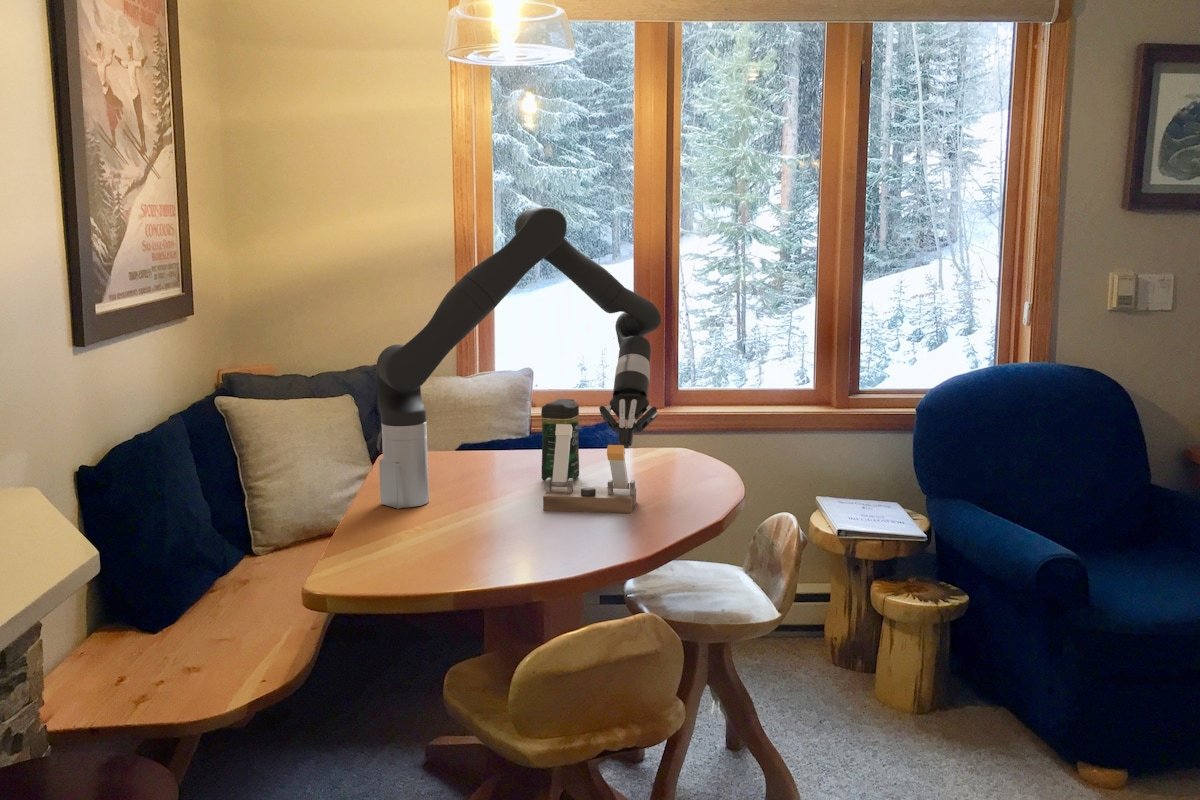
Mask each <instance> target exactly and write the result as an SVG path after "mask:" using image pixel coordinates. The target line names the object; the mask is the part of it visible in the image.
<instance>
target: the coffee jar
mask: <svg viewBox="0 0 1200 800" xmlns="http://www.w3.org/2000/svg"><path fill="white" fill-rule="evenodd" d="M579 408H580V407H579V404H578V402H576V401H575V399H572V398H571V399H570V398H557V399H555V400H553V401H551V402H549V403H546V404H544V405H543V406H541V413H540V415H541V416H540V419H541V420H540V421H541V432H542V433H541V480H542V481H543V482H545V480H546V479H547V478H551V482H552V478H553V467H554V456H555V444H556V435H555V432H556V424H571V425H572V427H573V429H572V438H571V440H570V451H569V463H568V475H567V481H568V479H569V478H573V481H575V480H576V479H578V477H579V476H580V454H579V451H580V450H579V421H580V409H579Z"/></svg>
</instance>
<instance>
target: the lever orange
mask: <svg viewBox="0 0 1200 800" xmlns="http://www.w3.org/2000/svg"><path fill="white" fill-rule="evenodd" d="M625 450H626V448H624V445H619V444H607V447H606V456H607V461H608V462H609V466H610V472H611V473H610V474H611V478H612V479H613V489H629V488H630V482H629V478H628V471H627V466H626V465H627V464H626V457H625V454H626V451H625Z"/></svg>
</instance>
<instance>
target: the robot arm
mask: <svg viewBox="0 0 1200 800" xmlns="http://www.w3.org/2000/svg"><path fill="white" fill-rule="evenodd" d="M567 225H568V223H567V219H566V217H565V216H564V214H563V212H561V211H560V210H559V209H556V208H553V207H551V206H550V207H549V206H537V207H532V208H531V207H530V208H529V209H526V210H524V211H522V212H520V214H519V215H518V216H517V218H516V219H515V223H514V232H515V234H514V236H513V237H512V238H511V239H510V241H509V242H508V243H507V244H505V245H504V246H503V247H502V248H500V249H499V250H498V251H496V252H495V253H493V254H492V255H490V256H488V257H487V258H485V259H483V260H482V261H480V263H478V264H477V265H475V266H474V267H472V268H471V269H470V270H468V272H466V274H464V275H463V276H462V278H460V279H459V280H458V281H457V282H456V283H455V284H454V285H453V286H452V287H451V288H450V290H449V291H447V293H446V294H445V296H444V297H443V299H442V300H441V302H440V303H439V305H438V306H437V308H436V310H435V312H434V314H433V315H432V317H431V319H430V320H429V321H428V323H427V324H426V325H425V326H424V327H423V328H422V329H421V330H419V332H418V333H417V334H416V335H415V336H413V337H412V338H411V339H410V340H409V341H408V342H406V343H405V344H391V345H389V346H387V347H386V348H384V349H383V350H382V351H381V352H380V354H379V355H378V357H377V360H376V364H375V368H376V369H375V380H376V393H377V394H376V395H377V405H378V410H379V412H380V421H381V440H382V442H381V444H382V459H379V460H378V468H379V469H378V470H379V473H378V474H379V494H380V495H379V497H380V505H384V506H387V507H391V508H395V509H403V508H415V507H420V506H423V505H426V504H428V503H429V502H430V493H429V492H430V490H429V489H430V487H429V486H430V485H429V467H428V465H429V462H428V437H427V436H428V433H427V410H426V408H425V405H424V402H423V398H422V389H421V386H423V385H424V384H425V383H426V382H427V380H428V379H429V378H430V376H431V375H432V374H433V373H434V371H435V370H436V369H437V367H438V366H440V364H441V362H442V361H443V360H444V358H445V357H446V356H447V355H448V354H449V353H450V352H451V351H452V350H453V349H454V348H455V347H456V346H457V345H458V344H459V343H460V342H461V341H462V340H464V339H465V338H466V336H468V335H469V334H470V333H471V332H472V331H473V330H474V329H475V327H477V326H478V325H479V324H480V323H481V322H482V321H483V320H485V318H487V316H488V315H489V314H490V313H491V312H492V311H494V309H495V308H496V307H497V306H498V305H499V304H500V303H501V301H502V300H503V299H504V298H505V297H506V296H507V295H508V294H509V293H510V292H511V291H512V290H513V289H514V288H515V287H516V285H517V284H518V283H519V282H520V281H521V279H522V278H524V276H526V275H527V273H529V271H530V270H531V269H532V268H534V267H535V265H537V264H539V262H541V261H542V260H543V259H544V260H545V261H546V262H548V263H549V264H551V266H553V267H554V268H556V269H557V270H558V271H559V272H561V273H562V274H563V275H564V276H565V277H567V278H568V279H569V280H570V281H571V282H572V283H573V284H574V285H576V287H578V288H579V289H580V290H581V291H582V292H583V293H584V294H586V295H587V296H588V297H589V299H590V300H592V301H593V302H594V303H595V304H596V305H597V306H598V307H599V308H600V309H602V310H603V311H604V312H605V313H607V314H615V313H620V312H621V314H620V315H619V316H618V317H617V319H616V322H615V332H616V338H617V342H618V347H619V350H618V360H617V364H616V367H615V374H614V381H613V390H612V397H611V399H610V400H609V404H607V405H606V406H604V405H601V406H599V413H600V416H601V418H602V419H603V420H604V421H605V423H606V424H607V425H608V426H609V427H610V429H611V430H612V432H618V437H617V441H618V445H624V449H629V448H630V447H631V446H632V445H633V440H634V439H633V438H634V434H635V433H636V432H638V433H641V432H643V431H644V430H645V429H646V428H647V427H648V426H649V425H650V424H651V423H652V422H653V421H655V420H656V418H657V417H658V415H659V414H658V409H657V407H656V406H651V405H650V404H649V403H650V401H649V399H648V396H649V387H650V386H649V385H650V381H651V377H650V376H651V371H650V370H651V369H650V368H651V367H650V363H651V355H652V354H651V352H652V348H651V343H650V341H649V340H648V339H647V338H646V337H645V336H647V335H649V334H651V333H652V332H654V331H656V330H657V329H658V328H659V327H660V325H661V323H662V315H661V313H660V311H659V309H658V307H657V306H656V304H654V303H653V302H652V301H650V300H649V299H647V298H646V297H643V296H642V295H639V294H638V293H636V292H634V291H632V290H630V289H629V288H626V287H625V286H624V285H623V283H621V282H620V281H619V280H617V279H616V277H615V276H613V275H612V273H610V272H609V271H608V270H607V269H606V268H604V267H603V266H602V265H600V264H599V263H598V262H596V261H594V260H593V259H591V258H590V257H589V256H587V255H585V254H584V253H582V252H581V251H580V250H578V248H576V247H574V246H573V245H572V244H571V243H570V242H569V241H568V240H567V239H566V238H565V237H566V234H567V231H568V230H567V228H568V226H567ZM612 412H613V414H615V416H616V417H617V419H619V420H618V421H619V422H618V421H617V420H616V419H615V418H614V416H613V415H612Z"/></svg>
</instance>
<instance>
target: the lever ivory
mask: <svg viewBox="0 0 1200 800" xmlns="http://www.w3.org/2000/svg"><path fill="white" fill-rule="evenodd" d="M572 429H573V427H572V425H571V424H556V432H555V435H556V444H555V456H554V467H553V478H552V482H551V486H552V487H567V475H568V463H569V451H570V440H571V438H572Z"/></svg>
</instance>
